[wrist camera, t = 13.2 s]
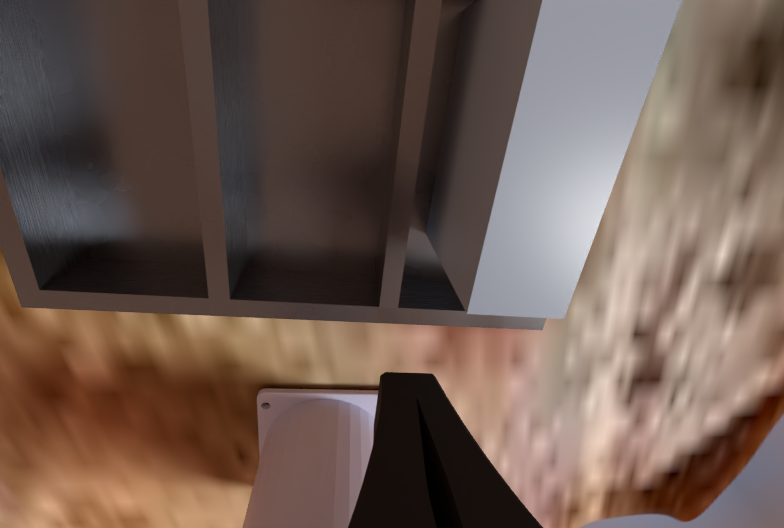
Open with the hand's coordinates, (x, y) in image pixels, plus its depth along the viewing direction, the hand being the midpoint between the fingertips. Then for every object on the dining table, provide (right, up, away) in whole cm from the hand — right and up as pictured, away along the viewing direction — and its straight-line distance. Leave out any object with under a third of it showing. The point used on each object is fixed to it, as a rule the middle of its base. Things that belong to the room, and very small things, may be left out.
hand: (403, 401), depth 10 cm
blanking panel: (+3, +9, +6) cm, 12 cm away
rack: (-3, +9, +6) cm, 12 cm away
